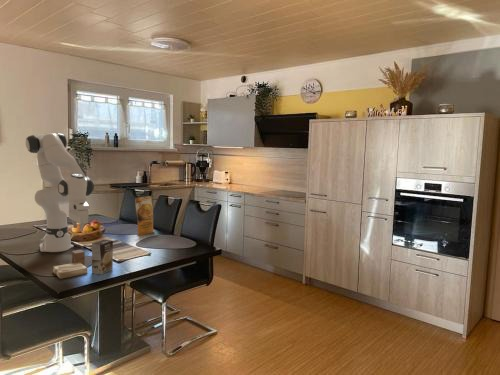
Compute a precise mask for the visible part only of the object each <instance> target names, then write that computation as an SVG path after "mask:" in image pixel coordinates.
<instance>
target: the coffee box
mask: <svg viewBox="0 0 500 375" xmlns="http://www.w3.org/2000/svg"><path fill="white" fill-rule="evenodd" d="M113 242H114V241H113V240H111V239H110V240H109V239H101V240H98V241H95V242H92V243H91V273H92V274H97V275H103V274H106V273H107V272H109V271H111V270H113V269H114V268H113V266H114V265H113V263H114V262H113V259H114V258H113V256H114V255H113V254H114V253H113V252H114V249H113V248H114V243H113Z"/></svg>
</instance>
